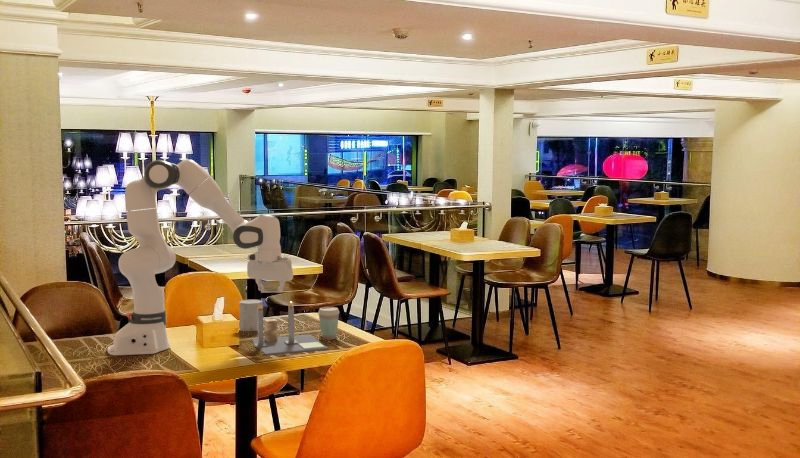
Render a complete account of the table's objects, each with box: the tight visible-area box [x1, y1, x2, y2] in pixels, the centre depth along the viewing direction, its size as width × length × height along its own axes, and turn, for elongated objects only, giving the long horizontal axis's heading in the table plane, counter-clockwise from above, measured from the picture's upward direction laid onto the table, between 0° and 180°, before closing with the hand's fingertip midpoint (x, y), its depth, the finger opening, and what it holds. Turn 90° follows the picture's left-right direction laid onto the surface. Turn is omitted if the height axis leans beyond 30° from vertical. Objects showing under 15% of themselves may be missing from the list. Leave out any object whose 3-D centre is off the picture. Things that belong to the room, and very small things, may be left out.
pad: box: [299, 341, 326, 349], centre depth 316 cm, size 8×8×1 cm
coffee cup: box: [317, 306, 340, 341], centre depth 332 cm, size 8×8×12 cm
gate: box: [253, 301, 298, 349], centre depth 317 cm, size 16×4×16 cm, turn 112°
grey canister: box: [238, 298, 263, 332], centre depth 345 cm, size 10×10×12 cm
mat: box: [251, 334, 329, 357], centre depth 320 cm, size 24×24×1 cm
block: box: [264, 318, 278, 342], centre depth 325 cm, size 4×4×8 cm
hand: (270, 291), depth 323 cm, fingers open, 8 cm apart
